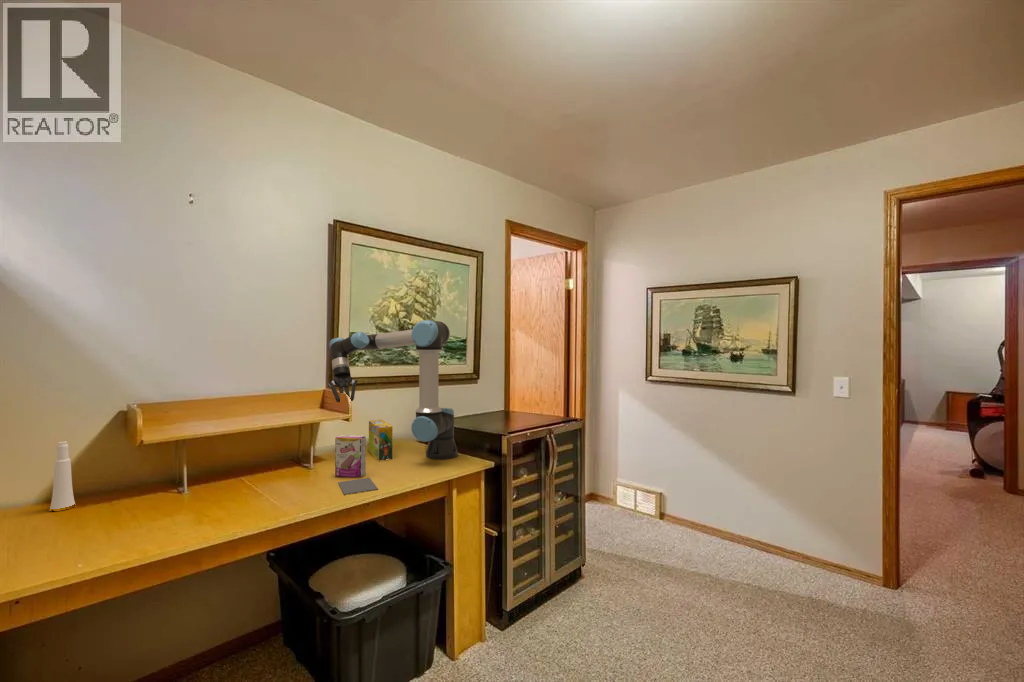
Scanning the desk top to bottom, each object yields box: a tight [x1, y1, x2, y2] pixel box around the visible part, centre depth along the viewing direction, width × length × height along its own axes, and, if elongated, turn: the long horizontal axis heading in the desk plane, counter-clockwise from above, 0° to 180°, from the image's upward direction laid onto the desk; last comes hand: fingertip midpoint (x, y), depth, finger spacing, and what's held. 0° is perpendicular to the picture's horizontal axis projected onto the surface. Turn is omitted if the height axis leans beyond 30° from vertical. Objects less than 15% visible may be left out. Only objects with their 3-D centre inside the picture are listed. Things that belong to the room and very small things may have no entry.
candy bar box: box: [334, 434, 367, 478], centre depth 183 cm, size 11×5×16 cm, turn 84°
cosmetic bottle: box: [49, 440, 76, 510], centre depth 147 cm, size 6×6×22 cm
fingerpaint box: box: [368, 419, 393, 461], centre depth 214 cm, size 19×7×16 cm, turn 32°
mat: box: [337, 477, 379, 496], centre depth 170 cm, size 12×15×1 cm
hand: (347, 415), depth 201 cm, fingers closed
